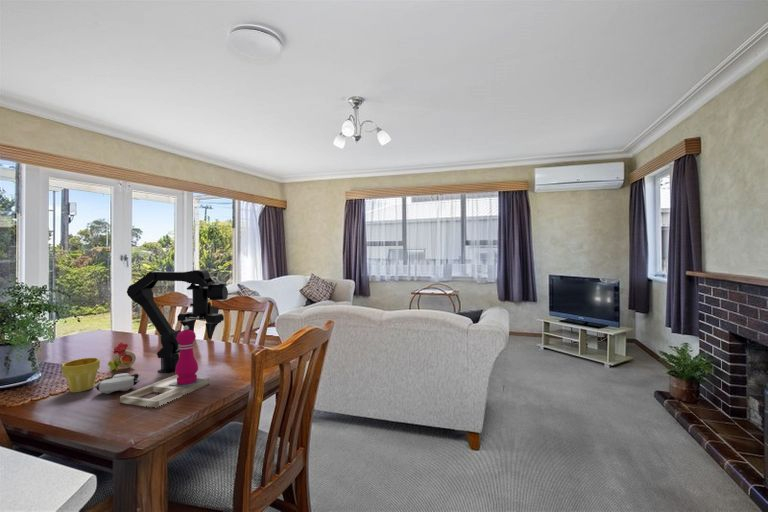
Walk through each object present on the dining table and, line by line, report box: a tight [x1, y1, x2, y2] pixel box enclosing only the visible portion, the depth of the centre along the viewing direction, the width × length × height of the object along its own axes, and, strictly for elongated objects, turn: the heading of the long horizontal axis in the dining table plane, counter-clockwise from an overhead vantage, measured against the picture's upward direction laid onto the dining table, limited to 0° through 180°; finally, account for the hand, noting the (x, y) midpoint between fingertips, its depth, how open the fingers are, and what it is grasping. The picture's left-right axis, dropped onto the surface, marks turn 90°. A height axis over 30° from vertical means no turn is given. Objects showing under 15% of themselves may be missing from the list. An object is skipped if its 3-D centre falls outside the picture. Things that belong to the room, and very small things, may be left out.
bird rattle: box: [107, 342, 137, 372], centre depth 153 cm, size 6×11×9 cm
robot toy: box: [93, 372, 141, 395], centre depth 131 cm, size 12×4×15 cm
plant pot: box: [61, 357, 101, 393], centre depth 131 cm, size 10×10×10 cm
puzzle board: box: [119, 374, 210, 409], centre depth 127 cm, size 15×22×2 cm
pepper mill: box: [174, 326, 199, 385], centre depth 131 cm, size 7×7×20 cm
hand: (200, 338), depth 151 cm, fingers open, 9 cm apart
